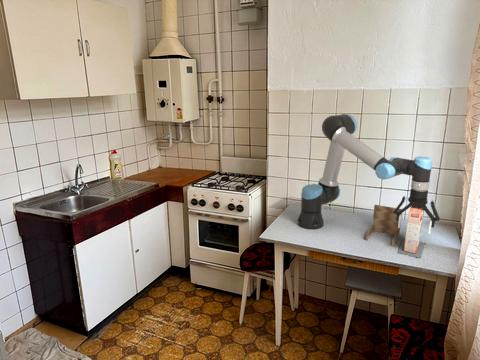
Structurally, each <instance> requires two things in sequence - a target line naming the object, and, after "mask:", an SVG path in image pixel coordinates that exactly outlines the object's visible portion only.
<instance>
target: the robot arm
mask: <svg viewBox="0 0 480 360" xmlns="http://www.w3.org/2000/svg"><path fill="white" fill-rule="evenodd" d="M357 128H358V122H357V120H356V118H355V116H353V115H351V114H345V113H342V114H338V115H337V114H336V115H330V116H328V117H326V118H324V120H323V121H322V123H321V130H322V134H323V135H324V137H326V139H328V140H329V142H330V143H329V147H328V151H327V155H326V161H325V165H324V169H323V173H322V177H321V178H319V179H318V183H317V184H316V183H312V184H311V183H310V184H306V185H304V186H303V187H302V189H301V193H300V195H301V198H300V199H301V202H300V203H301V204H300V207H301V208H300V213H299V216H298V219H297V225H298V226H299V227H300V228H303V229H306V230H318V229H321V228H323V227H324V223H325V222H324V218H323V215H322V206H323V205H326V204H329V203H332V202H335V201H336V200H337V199H338V198H339V197H340V196H341V195H340V193H341V188H340V185H339V182H338V178H339V177H338V176H339V174H340V169H341V164H342V162H343V157H344V153H345V150H346V151H348V153H350V154H351V155H353V156H355V158H357V159H358V160H360V161H361V162H363V163H364V164H365V165H366V166H368V167H370V168H371V169H372V170H374V171H375V176H376V177H377V178H378V179H380V180H388V179H389V180H390V179H392V178H394V177H397V176H401V175H406V176H411V184H410V191H409V197H406V195H404V196H402V198H401V201H400V202H399V204H398V205H397V206H396V207H395V208H396V209H395V210H394V212H393V213H394V214H397V221H399V223H398V228H400V229H401V226H402V217H403V213H405V212H406V210H408V209H411V206H412V207H414V208H423V210H424V213H426V215H427V217H428V218H429V219H430V221H429V228H428V235H431V232H432V228H435V223H436V222H439V221H440V219H441V218H440V216H439V212H438V211H437V207H436V206H435V200H434V199H432V200H429V199H428V194H429V189H430V181H431V173H432V165H433V160H432V158H431V157H428V156H421V155H420V156H415V157H414V159H408V158H401V157H396V156H395V157H394V156H392V157H390V158H389V159H387V158H386V157H385V156H383V155H381V154H380V153H378V152H377V151H376V150H375V149H373V148H372V147H370V146H369V145H367V144H366V143H365V142H363V141H362V140H360V139H358V138H357V137H355V136H354V135H353V134H355V132H356V131H357ZM407 201H408V204H407V205H405V206H404V207H403V208H401V207H402V206H403V204H404V203H405V202H407ZM427 204H428V205H429V206H430V208H431V210H432V212H433V214H432V212H431V210H429V208H428V206H427ZM399 209H402V210H400V211H399V212H398V210H399Z"/></svg>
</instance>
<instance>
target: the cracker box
mask: <svg viewBox="0 0 480 360" xmlns="http://www.w3.org/2000/svg"><path fill="white" fill-rule="evenodd" d="M424 213H425V211H424V210H423V208H414V207H412V206H411V207H410V208H409V212H408V215H407V216H408V217H407V225H406V231H405V236H404V237H405V238H404V239H405V245H404V251H405V252H410V253H414V254H416V252H417V249H418V245H419V242H421V241H420V240H421V235H422V227H423V222H424Z"/></svg>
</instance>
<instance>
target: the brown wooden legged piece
mask: <svg viewBox="0 0 480 360" xmlns="http://www.w3.org/2000/svg"><path fill="white" fill-rule="evenodd" d="M396 208H397V207H391V206H386V205H379V204H374V206H373V216H372V225H371V226H370V228H369V230H368V231H367V232H366V234H365V241H369V239H370V238H371V236H372V235H373V234H374V232H378V233H379V232H380V233H385V234H389V235H393V238H392V239H391V246H392V247H395V245H396V243H397V240H398V238H399V236H400V235H401V227H400V228H398V223H399V221H397V214H394V213H393V212H394V210H395V209H396ZM402 209H403V208H399V210H398V212H399V211H400V210H402Z"/></svg>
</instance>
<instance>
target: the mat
mask: <svg viewBox="0 0 480 360" xmlns="http://www.w3.org/2000/svg"><path fill="white" fill-rule="evenodd" d="M425 244H426V243H425V242H421V241H419V245H418V249H417V252H416V254H414V253H410V252H405V251H404V245H405V238H403V240H402V242H401V244H400V246H399V248H398V252H397V254H400V255H403V254H404V255H403V256H407V255H408V257H413V258H416V257H417V259H421V258H422V255H423V251H424V248H425Z"/></svg>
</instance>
